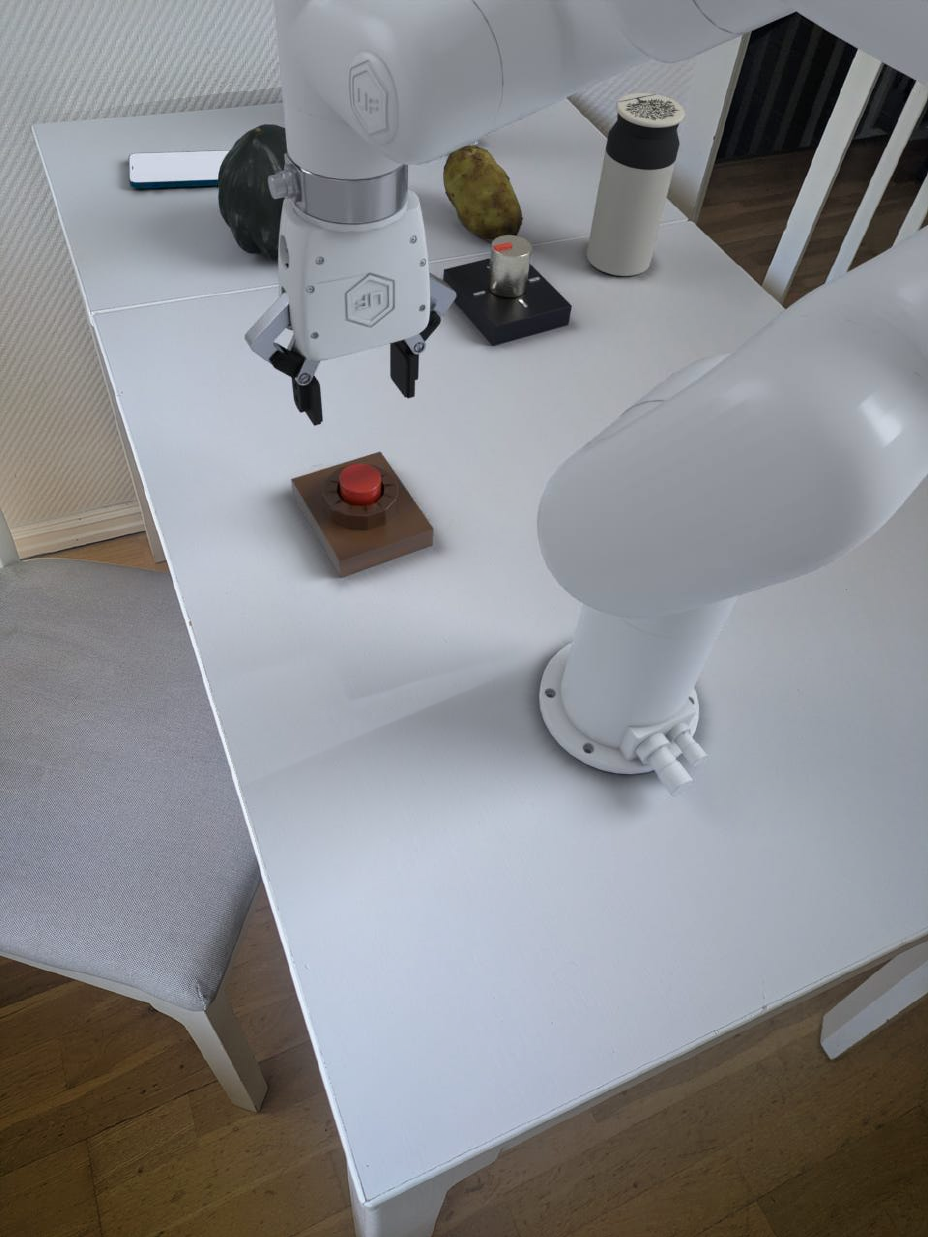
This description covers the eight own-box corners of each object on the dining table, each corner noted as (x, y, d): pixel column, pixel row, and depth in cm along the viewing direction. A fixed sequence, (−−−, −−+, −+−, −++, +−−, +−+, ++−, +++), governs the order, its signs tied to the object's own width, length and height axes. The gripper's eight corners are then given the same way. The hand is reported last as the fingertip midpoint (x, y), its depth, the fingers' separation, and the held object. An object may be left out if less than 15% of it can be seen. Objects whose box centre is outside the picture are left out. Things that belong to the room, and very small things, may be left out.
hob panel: (568, 324, 103) (572, 304, 101) (492, 346, 100) (494, 325, 98) (515, 270, 109) (518, 249, 107) (442, 288, 106) (443, 267, 104)
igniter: (432, 545, 81) (434, 514, 78) (340, 578, 78) (338, 547, 75) (380, 468, 87) (380, 436, 84) (292, 495, 84) (289, 464, 81)
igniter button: (387, 499, 80) (387, 484, 78) (350, 511, 78) (349, 497, 77) (370, 473, 81) (370, 458, 80) (333, 485, 80) (332, 470, 79)
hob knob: (514, 272, 105) (519, 229, 100) (533, 293, 102) (539, 249, 98) (481, 280, 103) (484, 236, 99) (498, 301, 101) (503, 257, 97)
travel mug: (661, 272, 111) (700, 119, 97) (604, 282, 109) (635, 127, 95) (631, 238, 115) (664, 87, 101) (575, 247, 113) (601, 94, 99)
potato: (460, 253, 111) (464, 189, 104) (435, 200, 118) (438, 137, 112) (524, 248, 113) (532, 184, 106) (496, 195, 120) (502, 133, 114)
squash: (345, 158, 112) (256, 68, 101) (383, 224, 105) (291, 136, 93) (268, 239, 117) (174, 163, 105) (299, 309, 109) (202, 235, 98)
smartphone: (253, 155, 122) (129, 159, 119) (252, 148, 122) (128, 152, 118) (258, 185, 118) (130, 190, 115) (258, 178, 117) (128, 183, 114)
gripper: (238, 236, 53) (270, 461, 67) (495, 182, 59) (475, 400, 73) (197, 177, 57) (236, 401, 71) (442, 132, 63) (433, 347, 77)
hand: (357, 399), depth 72 cm, fingers open, 7 cm apart
